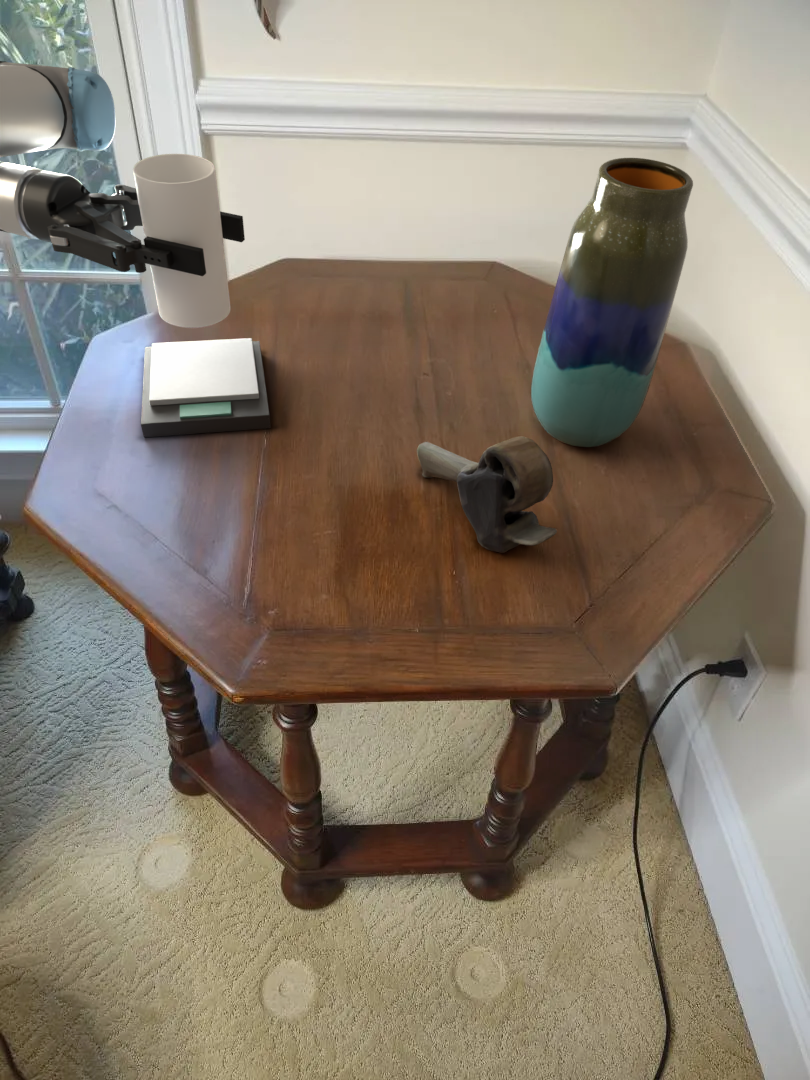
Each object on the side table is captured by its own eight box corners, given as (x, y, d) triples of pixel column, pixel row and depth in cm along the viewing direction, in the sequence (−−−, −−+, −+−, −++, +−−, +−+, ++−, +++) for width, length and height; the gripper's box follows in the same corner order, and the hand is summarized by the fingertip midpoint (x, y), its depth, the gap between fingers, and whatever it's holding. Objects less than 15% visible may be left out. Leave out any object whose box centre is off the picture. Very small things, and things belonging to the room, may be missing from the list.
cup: (245, 311, 91) (231, 170, 79) (186, 336, 86) (163, 190, 75) (202, 286, 94) (183, 147, 83) (144, 308, 90) (116, 164, 78)
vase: (539, 464, 92) (603, 201, 70) (511, 397, 102) (559, 147, 80) (647, 459, 94) (742, 201, 72) (610, 394, 104) (683, 149, 82)
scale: (143, 437, 91) (139, 418, 89) (147, 359, 103) (143, 341, 101) (270, 428, 94) (269, 409, 92) (260, 353, 106) (259, 335, 104)
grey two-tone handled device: (402, 471, 90) (407, 387, 82) (442, 454, 93) (450, 371, 84) (519, 582, 79) (538, 498, 70) (560, 559, 81) (584, 475, 73)
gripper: (103, 205, 97) (267, 240, 93) (-10, 277, 83) (178, 322, 79) (90, 141, 92) (263, 176, 88) (-34, 206, 77) (166, 251, 73)
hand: (223, 245), depth 83 cm, fingers closed on cup, 8 cm apart
